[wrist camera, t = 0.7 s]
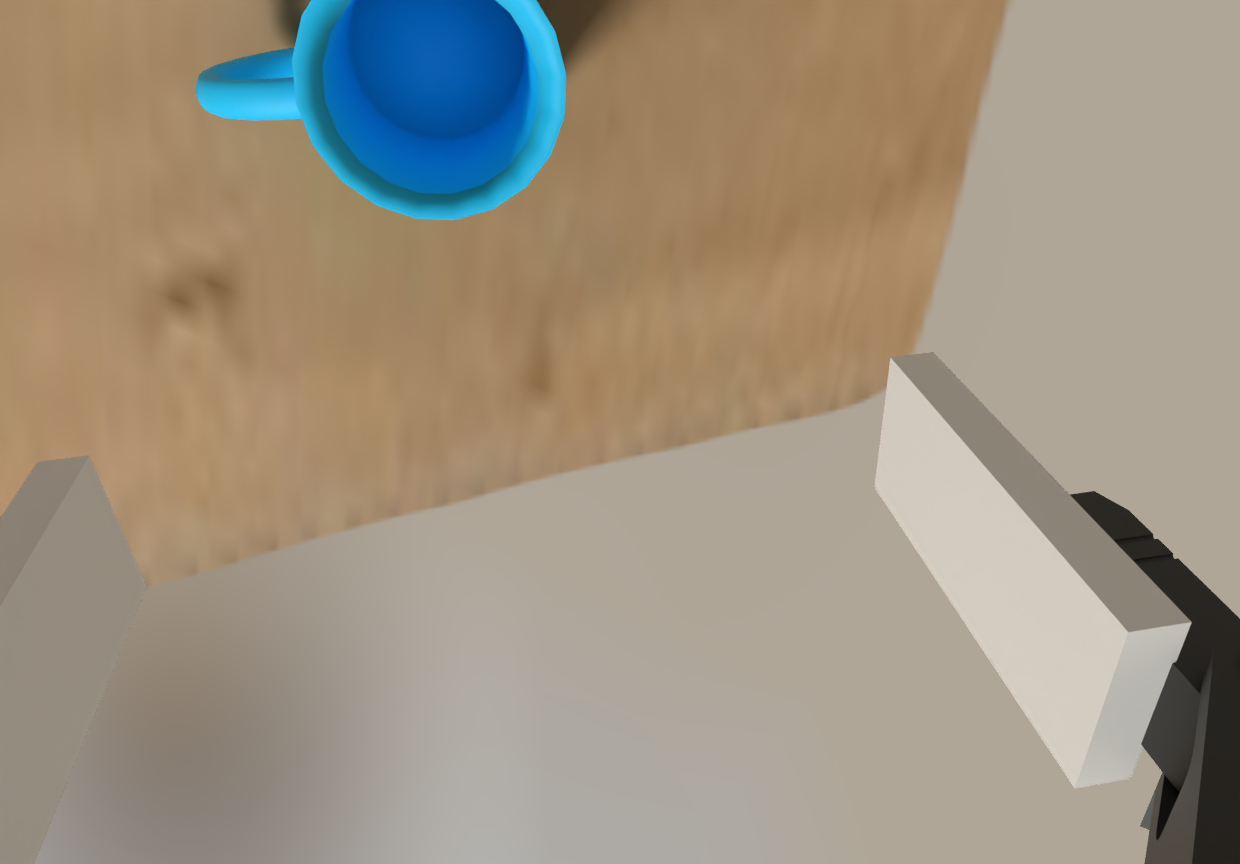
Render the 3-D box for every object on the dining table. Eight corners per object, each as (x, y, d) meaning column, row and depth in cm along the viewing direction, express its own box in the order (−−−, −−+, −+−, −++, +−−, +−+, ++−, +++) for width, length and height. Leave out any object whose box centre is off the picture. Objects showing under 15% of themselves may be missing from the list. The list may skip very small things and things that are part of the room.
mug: (531, -89, 33) (550, -77, 26) (557, 142, 37) (580, 204, 30) (188, -55, 32) (113, -34, 25) (255, 177, 36) (208, 250, 30)
